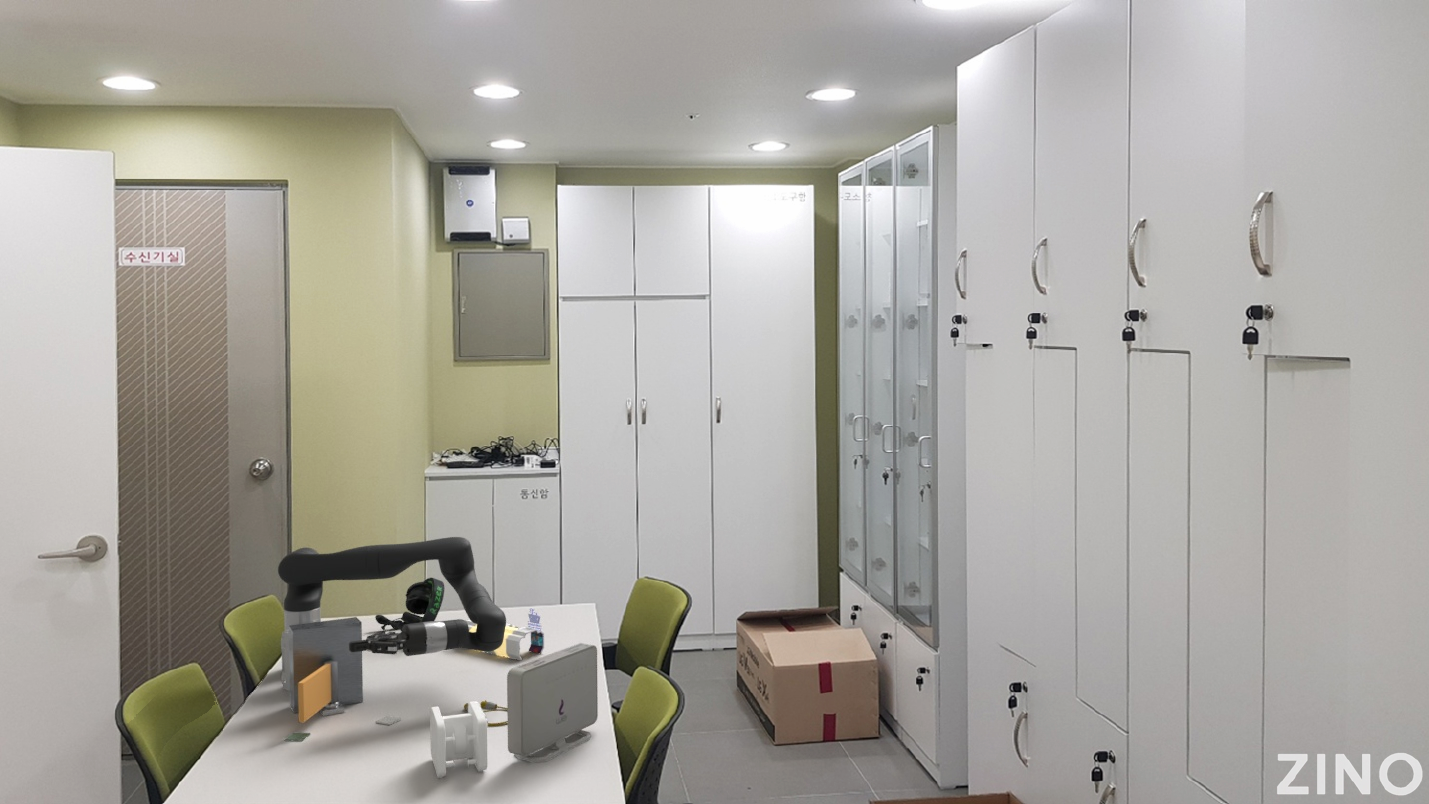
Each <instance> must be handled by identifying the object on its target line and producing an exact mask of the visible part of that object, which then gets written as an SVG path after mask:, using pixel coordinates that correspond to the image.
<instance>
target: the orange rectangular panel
mask: <svg viewBox="0 0 1429 804" xmlns="http://www.w3.org/2000/svg"><path fill="white" fill-rule="evenodd" d="M337 701H338V669H337V661H335V660H331V661H326V662H324V666H322V667H321V668H319V669H318V670H316V671H315V672H313V673H312V674H311V675H309V676H308V677H306V678H305V679H303V680H302V681H300V682H299V683H298V702H299V713H298V722H299V723H306V722H307V721H308V720H309V719H310V718H311V717H313V716H314V715H315V714H317V713H318V712H320V711H319V710H320V709H322V708H323V707H324V706H326V705H327V704H328V703H334V702H337Z"/></svg>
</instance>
